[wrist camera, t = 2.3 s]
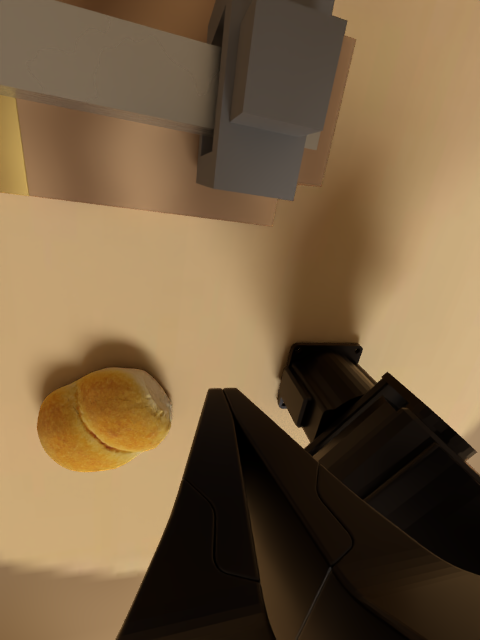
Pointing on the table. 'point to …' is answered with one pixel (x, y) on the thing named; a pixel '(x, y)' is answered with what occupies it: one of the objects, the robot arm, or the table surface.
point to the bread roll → (104, 419)
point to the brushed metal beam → (109, 67)
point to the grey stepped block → (268, 92)
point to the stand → (137, 140)
